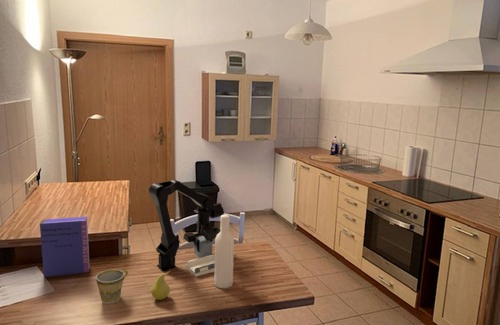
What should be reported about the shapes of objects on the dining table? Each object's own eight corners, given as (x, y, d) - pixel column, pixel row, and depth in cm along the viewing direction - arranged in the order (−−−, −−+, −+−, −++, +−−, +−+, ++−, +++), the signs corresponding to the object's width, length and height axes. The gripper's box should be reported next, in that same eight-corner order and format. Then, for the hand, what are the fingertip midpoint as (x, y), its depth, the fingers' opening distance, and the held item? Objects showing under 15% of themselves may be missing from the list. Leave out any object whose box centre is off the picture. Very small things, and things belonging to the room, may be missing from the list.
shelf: (195, 276, 162) (195, 269, 161) (185, 267, 170) (185, 260, 169) (234, 265, 174) (234, 258, 173) (222, 257, 182) (222, 250, 181)
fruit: (154, 293, 148) (153, 265, 146) (173, 294, 148) (173, 266, 146) (149, 302, 142) (148, 273, 139) (169, 303, 141) (168, 274, 139)
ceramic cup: (108, 310, 136) (107, 284, 134) (91, 301, 141) (90, 276, 139) (136, 294, 147) (135, 270, 145) (119, 286, 152) (118, 263, 150)
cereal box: (89, 267, 167) (87, 216, 163) (88, 272, 163) (86, 219, 158) (46, 272, 162) (42, 219, 157) (43, 277, 157) (39, 223, 153)
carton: (203, 260, 178) (203, 244, 176) (194, 253, 185) (194, 237, 184) (212, 257, 181) (212, 242, 179) (203, 250, 188) (203, 235, 187)
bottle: (236, 281, 159) (238, 214, 153) (227, 290, 152) (229, 220, 146) (219, 277, 162) (221, 211, 156) (210, 285, 155) (211, 216, 149)
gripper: (193, 229, 168) (193, 261, 171) (228, 221, 179) (228, 252, 182) (183, 221, 177) (183, 252, 180) (216, 215, 187) (216, 244, 190)
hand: (203, 250), depth 183 cm, fingers closed on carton, 5 cm apart
